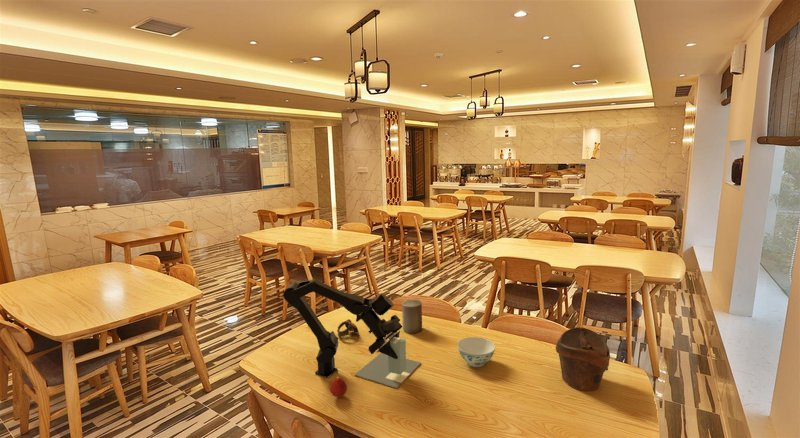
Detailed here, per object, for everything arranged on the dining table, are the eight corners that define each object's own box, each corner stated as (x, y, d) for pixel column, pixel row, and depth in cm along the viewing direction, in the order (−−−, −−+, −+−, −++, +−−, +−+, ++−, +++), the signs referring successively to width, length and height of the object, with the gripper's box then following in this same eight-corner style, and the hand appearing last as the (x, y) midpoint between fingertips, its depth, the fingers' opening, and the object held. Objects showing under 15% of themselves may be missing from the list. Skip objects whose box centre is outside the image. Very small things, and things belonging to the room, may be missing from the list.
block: (400, 374, 149) (399, 344, 147) (388, 371, 151) (387, 341, 150) (406, 368, 154) (405, 338, 152) (394, 365, 156) (393, 336, 154)
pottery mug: (361, 339, 186) (352, 328, 182) (343, 348, 187) (334, 337, 183) (359, 323, 197) (351, 311, 193) (343, 331, 197) (334, 320, 194)
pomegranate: (339, 390, 145) (338, 370, 144) (350, 396, 141) (349, 375, 140) (327, 398, 141) (326, 377, 139) (338, 404, 137) (337, 383, 136)
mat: (396, 388, 145) (396, 387, 145) (354, 375, 155) (354, 374, 155) (421, 363, 162) (421, 362, 162) (381, 353, 172) (381, 351, 172)
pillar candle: (425, 327, 196) (425, 298, 194) (416, 335, 188) (415, 305, 186) (408, 324, 201) (408, 295, 199) (398, 331, 193) (397, 301, 191)
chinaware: (495, 374, 154) (495, 355, 152) (456, 371, 157) (456, 352, 155) (494, 355, 168) (494, 338, 167) (458, 352, 171) (458, 335, 170)
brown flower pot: (579, 402, 135) (582, 352, 133) (543, 372, 154) (545, 328, 152) (622, 393, 140) (626, 345, 137) (582, 365, 159) (585, 323, 156)
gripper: (374, 320, 142) (403, 355, 139) (397, 303, 159) (423, 333, 156) (356, 337, 147) (383, 371, 144) (380, 318, 164) (405, 348, 161)
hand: (400, 355), depth 151 cm, fingers closed on block, 5 cm apart
